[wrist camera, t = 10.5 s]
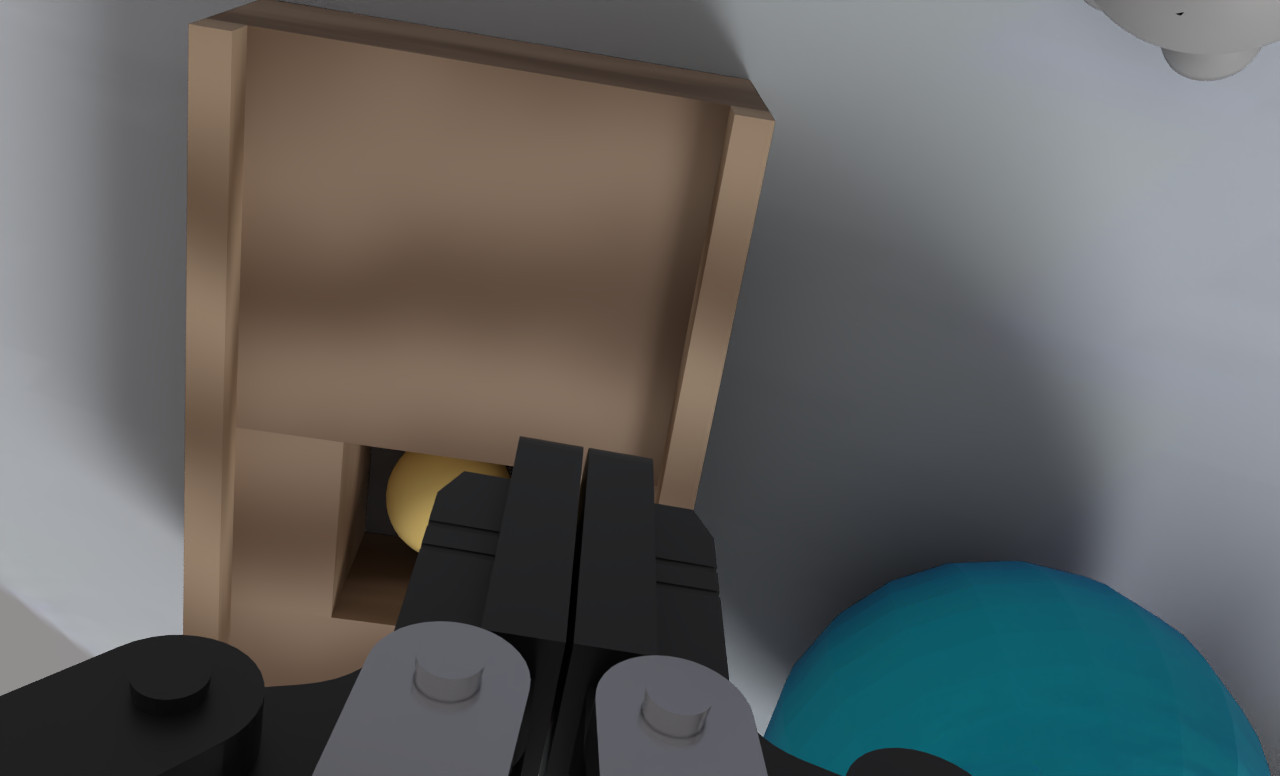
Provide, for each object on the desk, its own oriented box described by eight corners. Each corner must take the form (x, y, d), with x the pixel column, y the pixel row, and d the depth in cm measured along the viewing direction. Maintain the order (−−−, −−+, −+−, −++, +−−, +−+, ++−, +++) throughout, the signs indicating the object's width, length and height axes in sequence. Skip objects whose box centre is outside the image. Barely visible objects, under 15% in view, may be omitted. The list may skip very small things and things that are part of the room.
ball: (402, 462, 40) (391, 405, 36) (519, 472, 40) (519, 417, 36) (383, 573, 38) (369, 524, 34) (506, 583, 38) (504, 535, 34)
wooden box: (263, -2, 33) (188, 24, 27) (750, 80, 34) (775, 121, 28) (243, 590, 41) (182, 705, 35) (638, 641, 42) (640, 761, 36)
